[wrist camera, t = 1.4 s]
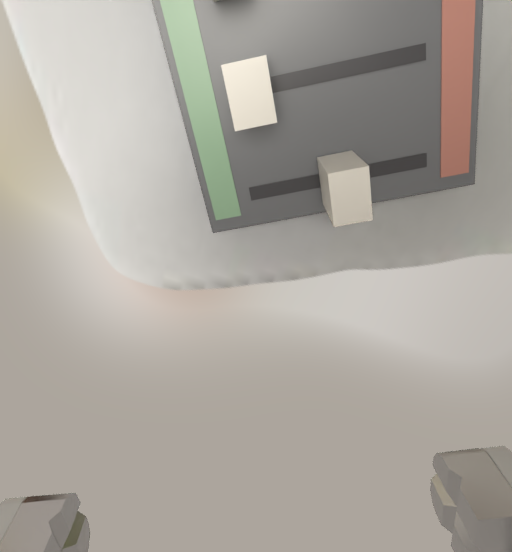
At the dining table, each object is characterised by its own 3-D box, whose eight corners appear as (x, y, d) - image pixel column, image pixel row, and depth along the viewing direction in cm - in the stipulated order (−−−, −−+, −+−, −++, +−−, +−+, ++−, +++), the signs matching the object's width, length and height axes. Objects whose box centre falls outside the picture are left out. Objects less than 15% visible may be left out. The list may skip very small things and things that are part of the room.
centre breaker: (264, 56, 26) (266, 54, 22) (274, 113, 28) (277, 122, 24) (226, 64, 27) (220, 64, 22) (238, 120, 28) (235, 131, 24)
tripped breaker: (351, 150, 29) (369, 165, 25) (356, 197, 31) (372, 219, 26) (316, 157, 29) (327, 173, 25) (322, 203, 31) (333, 227, 27)
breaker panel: (465, -138, 25) (491, -163, 22) (456, 174, 33) (475, 184, 30) (145, -56, 26) (133, -70, 24) (216, 220, 35) (212, 233, 32)
